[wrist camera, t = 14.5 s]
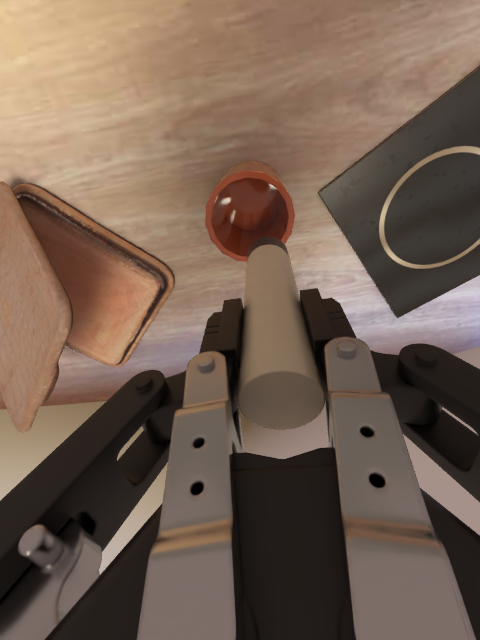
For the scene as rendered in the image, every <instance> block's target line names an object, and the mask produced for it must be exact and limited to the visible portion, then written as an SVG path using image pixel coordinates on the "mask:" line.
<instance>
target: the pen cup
mask: <svg viewBox="0 0 480 640" xmlns="http://www.w3.org/2000/svg"><path fill="white" fill-rule="evenodd" d="M294 218H295V214H294V209H293V204H292V199H291V196H290V195H289V193H288V191H287V189H286V187H285V185H284V183H283V181H282V180H281V178H280V177H279V175H278V174H277V172H276V171H275V170H274V169H272V168H271V167H270V166H268V165H266V164H264V163H262V162H258V161H245V162H242V163H239V164H237V165H235V166H233V167H232V168H231V169H230V170H229V171H228V172H227V173H226V174H225V175H224V176H223V177H222V179H221V180H220V181H219V183H218V184H217V185H216V187H215V188H214V189H213V192H212V194H211V196H210V198H209V201H208V203H207V205H206V227H207V229H208V232H209V235H210V238H211V240H212V242H213V243H214V244H215V245H216V246H217V247H218V248H219V250H220V251H221V252H222V253H223V254H225V255H227V256H229V257H231V258H233V259H235V260H237V261H246V262H247V254H248V250H249V248H250V246H251V245H252V243H253V242H254V241H256V240H257V239H259V238H262V237H267V236H268V237H275V238H277V239H279V240H280V241H282V242H283V243H284V244H285V243H286V241H287V240H288V238H289V236H290V235H291V233H292V228H293V223H294Z"/></svg>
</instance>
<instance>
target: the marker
mask: <svg viewBox="0 0 480 640" xmlns="http://www.w3.org/2000/svg"><path fill="white" fill-rule="evenodd" d="M324 404H325V392H324V389H323V385H322V381H321V377H320V373H319V370H318V366H317V362H316V360H315V357H314V353H313V349H312V345H311V341H310V338H309V334H308V330H307V326H306V322H305V318H304V314H303V311H302V307H301V303H300V297H299V294H298V290H297V286H296V282H295V278H294V275H293V271H292V267H291V263H290V259H289V256H288V252H287V248H286V246H285V245H284V243H283V242H282V241H280V240H279V239H277V238H275V237H268V236H267V237H262V238H259V239H257V240H256V241H254V242H253V243H252V245H251V246H250V248H249V250H248V254H247V268H246V282H245V297H244V313H243V329H242V344H241V359H240V372H239V387H238V406H239V409H240V411H241V412H242V414H243V415H244V416H245V417H246V418H247V419H248V420H249V421H251V422H252V423H254V424H256V425H258V426H261V427H264V428H269V429H275V430H276V429H277V430H286V429H292V428H297V427H300V426H303V425H305V424H307V423H309V422H311V421H312V420H314V419H315V418H316V417H317V416H318V415H319V414H320V413H321V411H322V409H323V407H324Z"/></svg>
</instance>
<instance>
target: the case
mask: <svg viewBox="0 0 480 640" xmlns="http://www.w3.org/2000/svg"><path fill="white" fill-rule="evenodd" d="M173 287H174V278H173V275H172V273H171V271H170V270H169V269H168V268H167V267H166V266H165V265H164V264H162V263H161V262H160V261H158V260H156V259H155V258H153V257H151V256H150V255H148V254H146V253H145V252H143V251H141V250H140V249H138V248H136V247H135V246H133V245H131V244H130V243H128V242H126V241H124V240H123V239H121V238H119V237H118V236H116V235H114V234H113V233H111V232H109V231H108V230H106V229H104V228H103V227H101V226H100V225H98V224H96V223H95V222H93V221H92V220H90V219H89V218H87V217H86V216H84V215H82V214H81V213H79V212H78V211H76V210H75V209H73V208H71V207H70V206H68V205H67V204H65V203H63V202H62V201H60V200H59V199H57V198H55V197H54V196H52V195H51V194H49V193H48V192H46V191H44V190H43V189H41V188H39V187H36V186H34V185H30V184H20V185H17V186H15V187H14V188H13V189H12V190H11V188H10V187H9V186H8V185H7V184H6V183H4V182H0V392H1V394H2V397H3V400H4V402H5V404H6V407H7V410H8V412H9V415H10V417H11V419H12V422H13V424H14V426H15V428H16V429H17V430H18V431H19V432H22V433H24V432H27V431H28V430H29V429H30V428H31V426H32V424H33V421H34V419H35V416H36V413H37V411H38V409H39V406H40V405H41V404H42V403H43V402H45V401H47V400H48V398H49V397H50V395H51V393H52V391H53V389H54V387H55V384H56V381H57V379H58V375H59V365H58V361H59V358H60V355H61V353H62V351H63V348H64V346H65V345H66V346H68V347H70V348H72V349H74V350H76V351H78V352H81V353H83V354H85V355H87V356H89V357H91V358H93V359H95V360H97V361H100V362H102V363H104V364H106V365H109V366H121V365H123V364H125V363H126V362H127V361H128V359H129V358H130V356H131V355H132V353H133V351H134V350H135V348H136V346H137V345H138V343H139V341H140V340H141V338H142V336H143V335H144V333H145V331H146V330H147V328H148V327H149V325H150V324H151V322H152V321H153V319H154V318H155V316H156V315H157V313H158V311H159V310H160V308H161V307H162V305H163V304H164V302H165V301H166V300H167V298H168V296H169V295H170V294H171V292H172V290H173Z"/></svg>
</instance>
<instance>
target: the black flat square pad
mask: <svg viewBox="0 0 480 640" xmlns="http://www.w3.org/2000/svg"><path fill="white" fill-rule="evenodd" d="M318 193H319V195H320V197H321V198H322V200H323V201H324V203H325V205H326V206H327V208H328V209H329V211H330V212H331V214H332V216H333V217H334V219H335V220H336V222H337V224H338V225H339V227H340V228H341V230H342V231H343V233H344V235H345V236H346V238H347V239H348V241H349V243H350V244H351V246H352V247H353V249H354V251H355V252H356V254H357V255H358V257H359V258H360V260H361V262H362V263H363V265H364V266H365V268H366V270H367V271H368V273H369V274H370V276H371V278H372V279H373V281H374V282H375V284H376V285H377V287H378V289H379V290H380V292H381V293H382V295H383V297H384V298H385V300H386V301H387V303H388V304H389V306H390V308H391V309H392V311H393V312H394V314H395V316H396V317H397V318H399V317H400V316H402V315H404V314H406V313H408V312H410V311H412V310H414V309H416V308H418V307H420V306H421V305H423V304H425V303H427V302H429V301H431V300H433V299H435V298H437V297H439V296H441V295H442V294H444V293H446V292H448V291H450V290H452V289H454V288H456V287H458V286H460V285H461V284H463V283H465V282H467V281H469V280H471V279H473V278H475V277H477V276H479V275H480V66H479V67H478V68H477V69H476V70H474V71H473V72H472V73H470V74H469V75H468V76H467V77H465V78H464V79H463V80H462V81H460V82H459V83H458V84H456V85H455V86H454V87H453V88H451V89H450V90H449V91H447V92H446V93H445V94H444V95H442V96H441V97H440V98H438V99H437V100H436V101H435V102H433V103H432V104H431V105H429V106H428V107H427V108H426V109H424V110H423V111H422V112H420V113H419V114H418V115H417V116H415V117H414V118H413V119H411V120H410V121H409V122H408V123H406V124H405V125H404V126H403V127H401V128H400V129H399V130H397V131H396V132H395V133H394V134H392V135H391V136H390V137H388V138H387V139H386V140H385V141H383V142H382V143H381V144H379V145H378V146H377V147H376V148H374V149H373V150H372V151H370V152H369V153H368V154H367V155H365V156H364V157H363V158H361V159H360V160H359V161H358V162H356V163H355V164H354V165H352V166H351V167H350V168H349V169H347V170H346V171H345V172H344V173H342V174H341V175H340V176H338V177H337V178H336V179H335V180H333V181H332V182H331V183H329V184H328V185H327V186H326V187H324V188H323V189H322V190H320V191H319V192H318Z"/></svg>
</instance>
